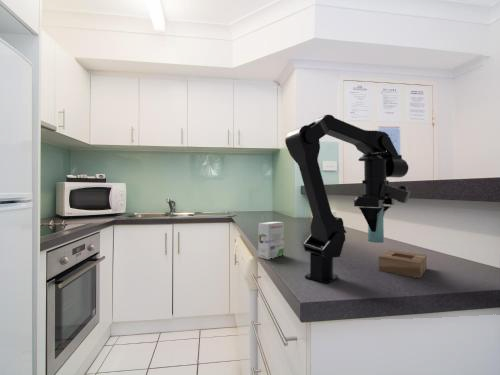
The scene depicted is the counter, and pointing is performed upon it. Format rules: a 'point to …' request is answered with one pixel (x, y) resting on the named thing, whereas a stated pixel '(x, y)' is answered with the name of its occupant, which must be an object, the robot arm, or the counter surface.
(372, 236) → the peg
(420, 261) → the socket block
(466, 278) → the counter surface
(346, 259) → the counter surface
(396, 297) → the counter surface
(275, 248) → the ink box
